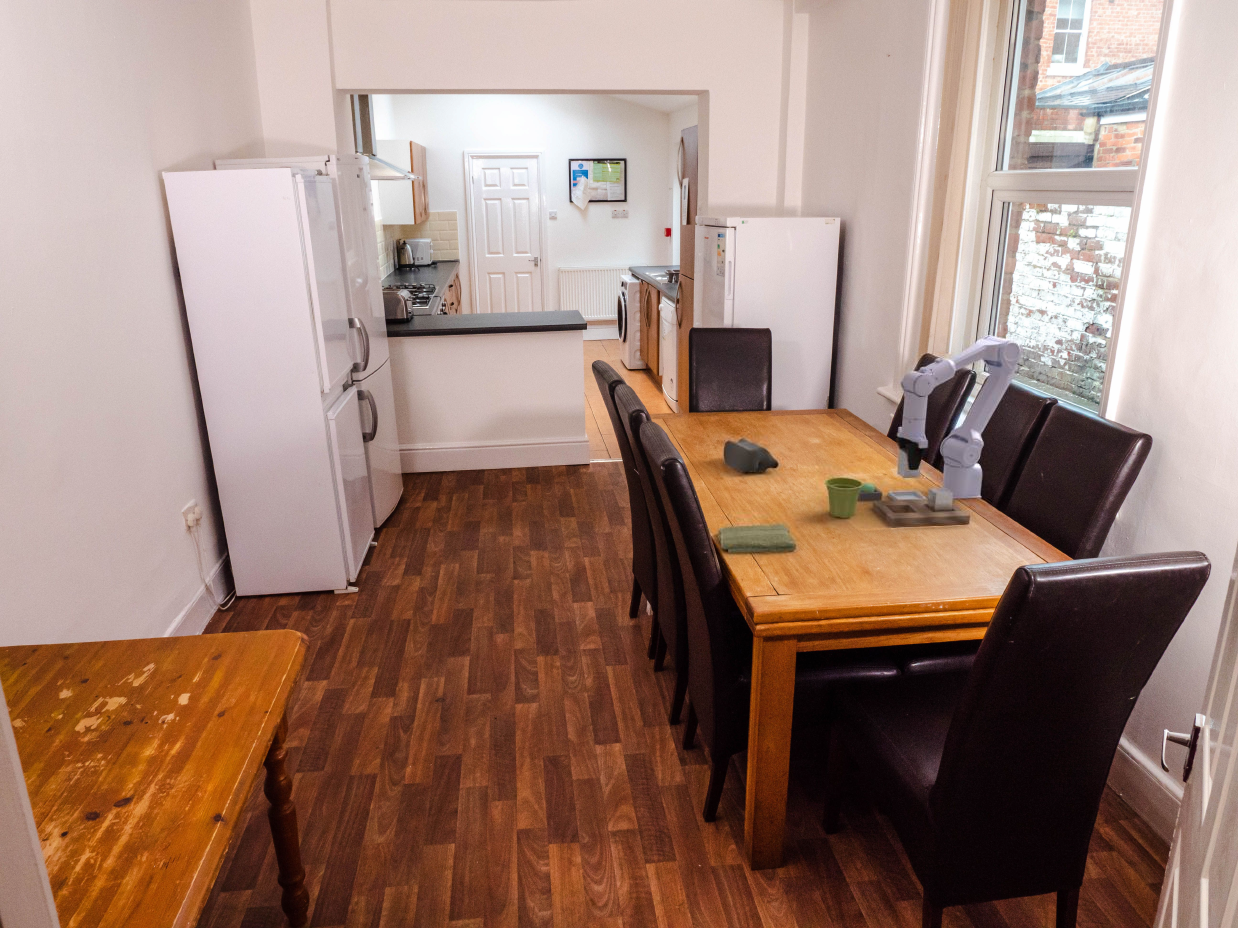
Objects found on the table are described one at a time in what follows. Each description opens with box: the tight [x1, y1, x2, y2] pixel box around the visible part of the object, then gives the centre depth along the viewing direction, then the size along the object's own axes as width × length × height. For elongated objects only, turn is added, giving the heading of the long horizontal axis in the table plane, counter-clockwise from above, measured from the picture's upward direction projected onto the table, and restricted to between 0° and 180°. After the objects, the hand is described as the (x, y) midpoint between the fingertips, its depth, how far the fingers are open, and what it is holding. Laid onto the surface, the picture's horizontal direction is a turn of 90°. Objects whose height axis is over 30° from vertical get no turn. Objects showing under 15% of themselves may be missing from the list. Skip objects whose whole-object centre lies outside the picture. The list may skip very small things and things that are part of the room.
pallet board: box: [871, 498, 971, 529], centre depth 222 cm, size 20×13×2 cm, turn 95°
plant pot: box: [824, 477, 863, 519], centre depth 224 cm, size 9×9×9 cm
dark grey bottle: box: [723, 437, 779, 474], centre depth 264 cm, size 18×11×8 cm, turn 25°
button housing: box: [858, 486, 883, 502], centre depth 237 cm, size 6×6×2 cm
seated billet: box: [927, 487, 954, 512], centre depth 222 cm, size 4×4×7 cm
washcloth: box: [717, 523, 797, 554], centre depth 207 cm, size 13×18×3 cm
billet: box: [896, 447, 922, 479], centre depth 232 cm, size 4×4×7 cm
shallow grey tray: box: [887, 489, 928, 501], centre depth 235 cm, size 8×7×2 cm
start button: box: [861, 482, 876, 492], centre depth 237 cm, size 4×4×3 cm
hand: (909, 467), depth 232 cm, fingers closed on billet, 4 cm apart
